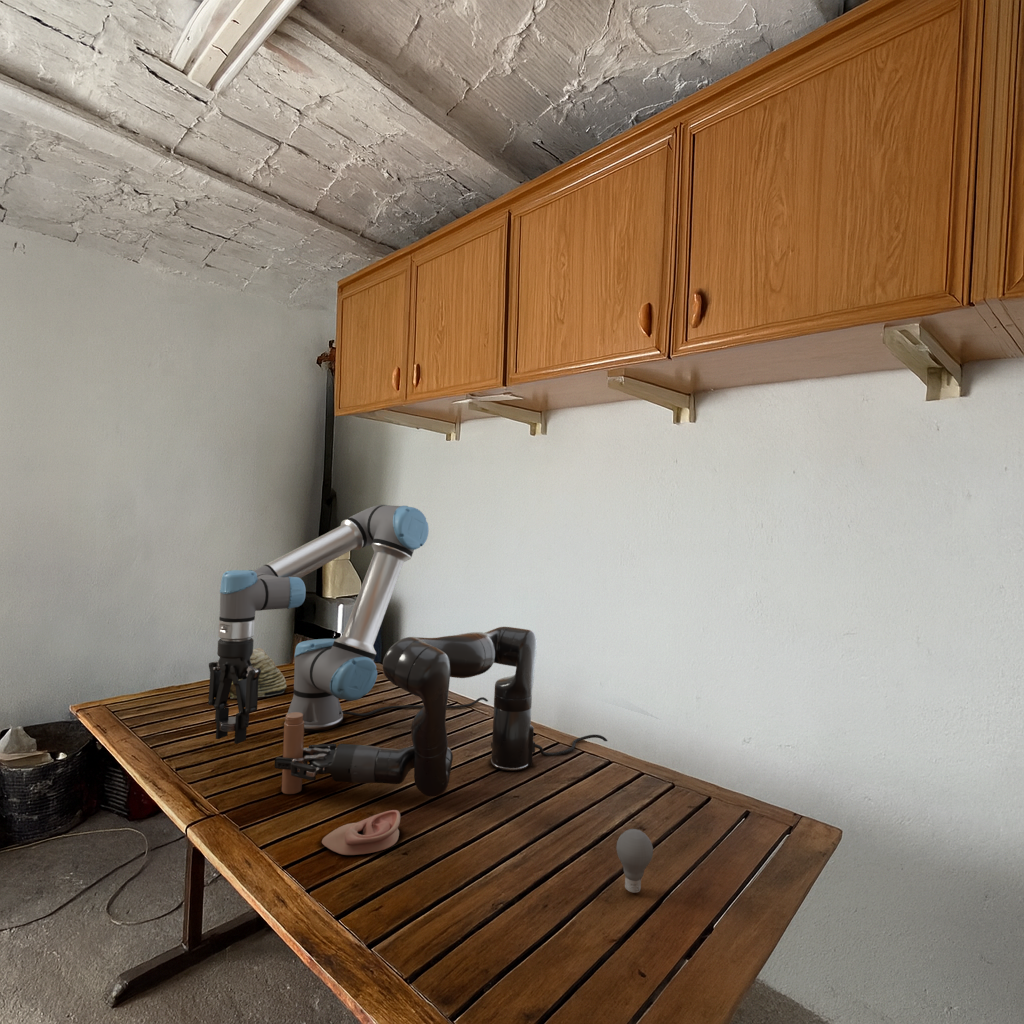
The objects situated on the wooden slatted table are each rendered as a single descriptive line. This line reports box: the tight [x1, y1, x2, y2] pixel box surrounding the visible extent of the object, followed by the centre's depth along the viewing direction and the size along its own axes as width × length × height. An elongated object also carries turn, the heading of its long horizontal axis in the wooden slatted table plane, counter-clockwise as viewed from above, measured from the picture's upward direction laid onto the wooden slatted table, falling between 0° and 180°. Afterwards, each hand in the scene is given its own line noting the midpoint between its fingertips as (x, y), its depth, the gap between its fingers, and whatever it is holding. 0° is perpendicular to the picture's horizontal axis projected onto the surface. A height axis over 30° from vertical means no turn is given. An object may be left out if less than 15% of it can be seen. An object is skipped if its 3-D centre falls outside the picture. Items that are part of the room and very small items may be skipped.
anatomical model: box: [321, 809, 401, 856], centre depth 118 cm, size 13×4×12 cm
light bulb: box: [615, 828, 654, 894], centre depth 106 cm, size 6×6×10 cm
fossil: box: [229, 647, 288, 699], centre depth 198 cm, size 9×18×15 cm, turn 132°
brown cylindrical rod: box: [281, 712, 305, 795], centre depth 136 cm, size 4×4×16 cm
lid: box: [219, 716, 236, 733], centre depth 145 cm, size 5×5×2 cm
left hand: (230, 739), depth 145 cm, fingers closed on lid, 5 cm apart
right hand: (280, 758), depth 136 cm, fingers closed on brown cylindrical rod, 4 cm apart
